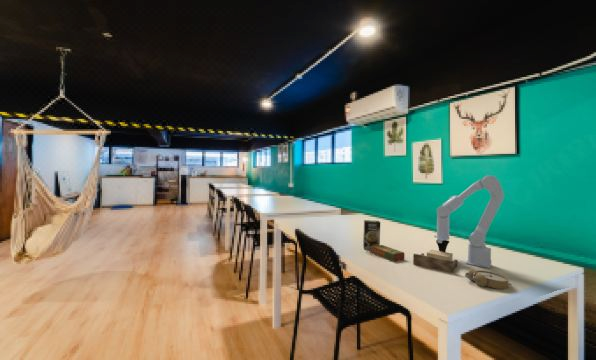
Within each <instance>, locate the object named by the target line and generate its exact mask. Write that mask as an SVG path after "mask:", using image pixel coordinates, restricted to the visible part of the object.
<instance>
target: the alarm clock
mask: <svg viewBox="0 0 596 360" xmlns="http://www.w3.org/2000/svg"><path fill="white" fill-rule="evenodd" d="M464 275H465V276H464V277H465V278H466V279H468V280H470V281H474V283H475V284H476V285H477V286H479V287H488V288H493V289H498V290H507V289H508V287H509V286H513V284H511V283H509V278H507V277H505V276H504V275H501V274H498V273H495V272H492V271H486V270H480V269H478V270H477V269H476V270H475V269H474V268H471V269H469V270H468V272H465V274H464Z"/></svg>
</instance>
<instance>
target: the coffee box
mask: <svg viewBox="0 0 596 360" xmlns="http://www.w3.org/2000/svg"><path fill="white" fill-rule="evenodd" d="M362 239H363V240H362V242H363V243H362V247H363V250H371V246H376V245H381V221H379V220H369V219H368V220H367V219H364V220H363V238H362Z"/></svg>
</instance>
